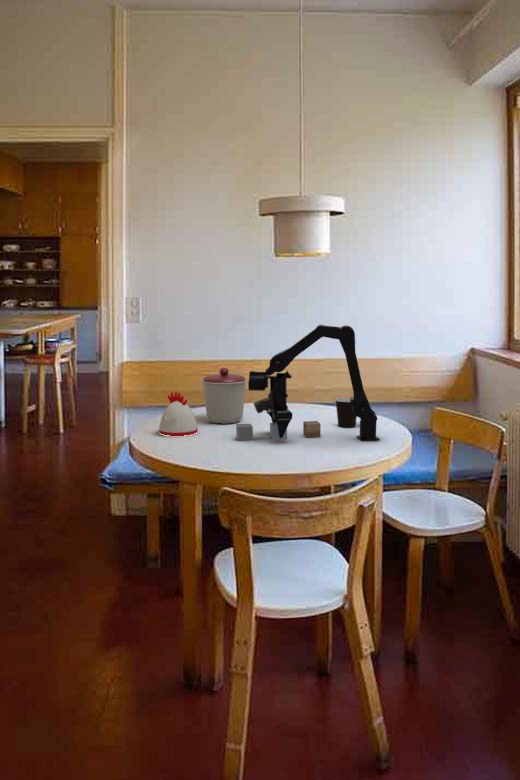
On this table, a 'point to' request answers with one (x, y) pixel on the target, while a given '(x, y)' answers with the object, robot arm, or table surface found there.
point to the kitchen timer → (178, 418)
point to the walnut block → (311, 429)
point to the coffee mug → (345, 413)
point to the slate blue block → (276, 432)
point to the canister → (224, 396)
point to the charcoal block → (244, 432)
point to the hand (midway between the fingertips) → (278, 434)
